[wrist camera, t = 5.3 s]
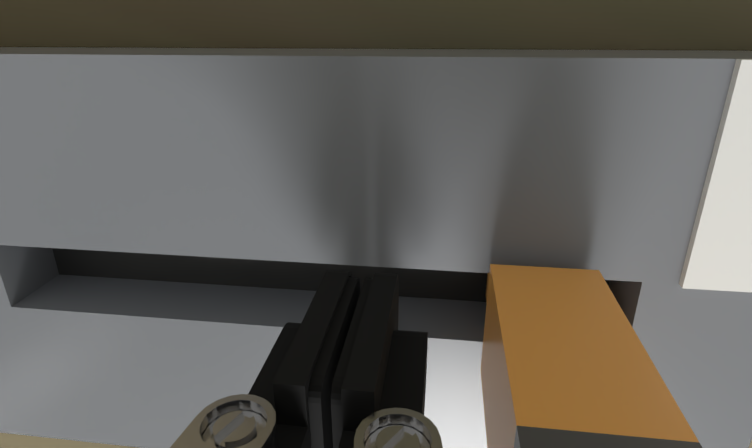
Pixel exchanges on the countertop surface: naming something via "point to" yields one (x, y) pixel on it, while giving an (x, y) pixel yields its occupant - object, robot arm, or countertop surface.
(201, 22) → the countertop surface
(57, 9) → the countertop surface
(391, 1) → the countertop surface
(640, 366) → the toggle
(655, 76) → the panel
